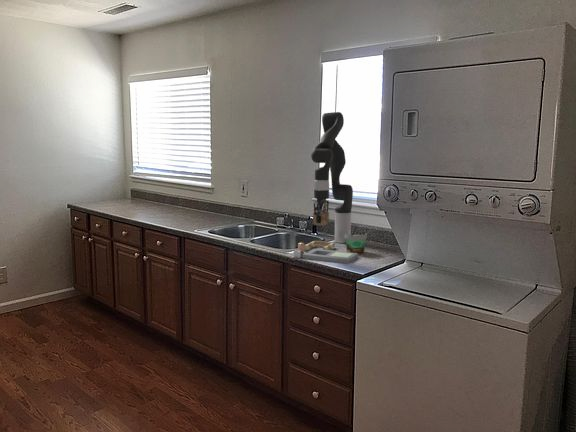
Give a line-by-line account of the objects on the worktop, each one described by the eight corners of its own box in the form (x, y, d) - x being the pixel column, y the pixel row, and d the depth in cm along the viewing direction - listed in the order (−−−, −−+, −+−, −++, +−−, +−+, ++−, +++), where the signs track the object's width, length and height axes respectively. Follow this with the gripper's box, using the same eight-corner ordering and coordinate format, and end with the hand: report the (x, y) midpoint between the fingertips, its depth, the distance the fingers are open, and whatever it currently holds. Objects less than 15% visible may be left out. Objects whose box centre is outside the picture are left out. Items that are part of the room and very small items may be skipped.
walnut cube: (317, 222, 262) (318, 211, 261) (328, 223, 259) (328, 212, 259) (313, 224, 257) (313, 212, 256) (324, 225, 254) (324, 213, 253)
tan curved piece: (314, 245, 285) (314, 240, 285) (334, 248, 280) (334, 242, 280) (304, 251, 273) (304, 245, 273) (324, 253, 268) (324, 247, 267)
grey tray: (314, 252, 270) (314, 248, 270) (357, 257, 260) (357, 252, 260) (302, 258, 257) (302, 254, 257) (347, 263, 247) (347, 259, 246)
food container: (348, 255, 264) (348, 236, 262) (344, 252, 270) (344, 233, 268) (370, 253, 267) (371, 235, 265) (365, 251, 273) (366, 232, 271)
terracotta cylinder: (299, 253, 267) (299, 242, 266) (304, 254, 266) (305, 242, 265) (297, 254, 264) (297, 243, 263) (302, 255, 263) (302, 244, 262)
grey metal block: (294, 256, 262) (294, 249, 261) (301, 256, 262) (301, 249, 261) (293, 257, 259) (293, 251, 258) (300, 258, 258) (300, 251, 258)
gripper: (320, 187, 263) (319, 219, 266) (308, 189, 251) (308, 223, 253) (334, 188, 260) (333, 220, 263) (323, 190, 247) (322, 224, 250)
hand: (321, 222), depth 258 cm, fingers closed on walnut cube, 6 cm apart
